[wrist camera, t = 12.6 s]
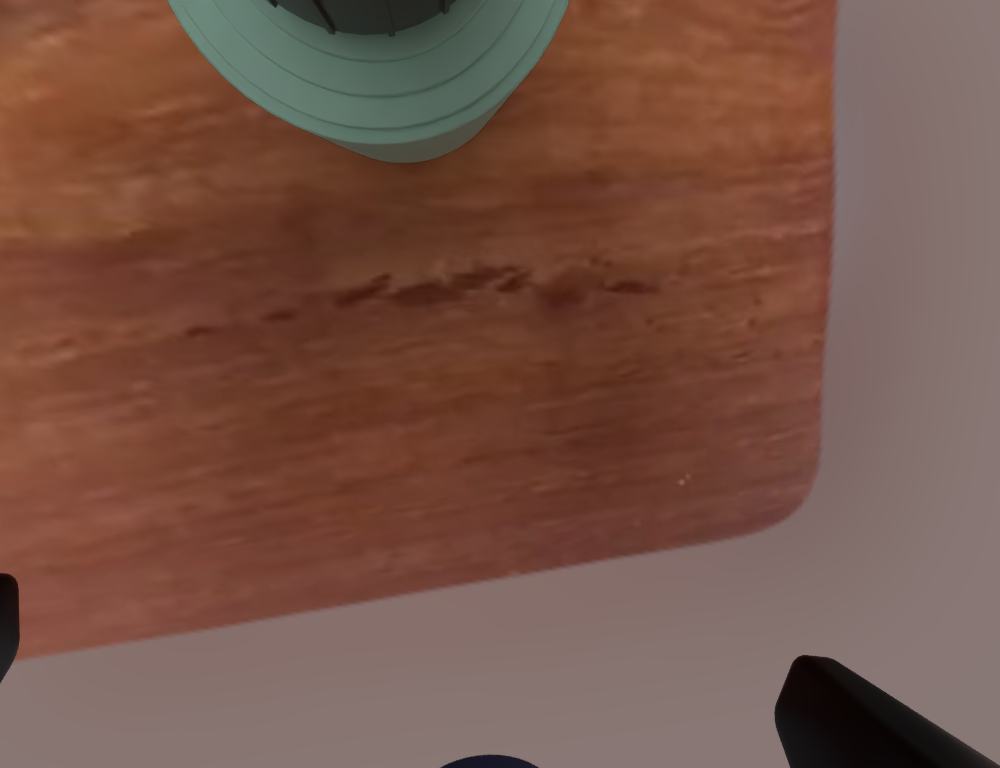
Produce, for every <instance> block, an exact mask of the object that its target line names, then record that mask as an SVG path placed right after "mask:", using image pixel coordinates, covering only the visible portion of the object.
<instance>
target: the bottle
mask: <svg viewBox="0 0 1000 768" xmlns="http://www.w3.org/2000/svg"><path fill="white" fill-rule="evenodd" d="M167 1H168V3H169V5H170V7H171V8H172V10H173V12H174V14H175V15H176V17H177V19H178V21H179V22H180V24H181V26H182V27H183V29H184V30H185V31H186V33H187V34H188V36H189V37H190V38H191V40H192V41H193V43H194V44H195V45H196V47H197V48H198V49H199V51H200V52H201V53H202V54H203V56H204V57H205V58H206V59H207V60H208V61H209V62H210V63H211V64H212V65H213V67H214V68H215V69H216V70H217V71H218V72H219V73H220V74H221V75H222V76H223V77H224V78H225V79H226V80H227V81H228V82H229V83H231V84H232V85H233V86H234V87H235V88H236V89H238V90H239V91H240V92H241V93H242V94H243V95H244V96H246V97H247V98H248V99H250V100H251V101H253V102H254V103H256V104H257V105H259V106H260V107H262V108H263V109H265V110H266V111H267V112H269V113H270V114H272V115H274V116H276V117H278V118H280V119H282V120H284V121H286V122H288V123H290V124H292V125H293V126H295V127H298V128H300V129H302V130H305V131H307V132H309V133H311V134H314V135H316V136H318V137H321V138H323V139H325V140H328V141H330V142H332V143H335V144H337V145H339V146H342V147H344V148H346V149H348V150H351V151H353V152H355V153H358V154H361V155H363V156H366V157H369V158H371V159H376V160H380V161H385V162H393V163H415V162H421V161H427V160H431V159H434V158H437V157H440V156H443V155H446V154H448V153H450V152H452V151H454V150H456V149H458V148H459V147H461V146H462V145H463V144H465V143H466V142H468V141H469V140H471V139H472V138H473V137H474V136H475V135H476V134H477V133H478V132H479V131H480V130H482V128H483V127H484V126H485V125H486V124H487V122H488V121H489V120H490V119H491V118H492V116H493V115H494V114H495V113H496V112H497V110H498V109H499V108H500V107H501V106H502V104H503V103H504V102H505V101H506V100H507V99H508V97H509V96H510V95H511V94H512V93H513V91H514V90H515V89H516V88H517V87H518V85H519V84H520V83H521V82H522V81H523V79H524V78H525V77H526V76H527V75H528V73H529V72H530V71H531V70H532V69H533V67H534V66H535V65H536V64H537V62H538V61H539V59H540V58H541V56H542V55H543V53H544V51H545V50H546V48H547V47H548V45H549V44H550V42H551V41H552V39H553V37H554V35H555V33H556V30H557V28H558V26H559V24H560V22H561V20H562V18H563V16H564V14H565V11H566V8H567V5H568V2H569V0H456V1H455V2H454V3H453V4H452V5H450V8H449V12H448V13H446V14H445V15H444V14H443V12H441V13H439V14H438V15H436V16H435V17H433V18H431V19H429V20H427V21H425V22H423V23H421V24H419V25H416V26H413V27H410V28H408V29H405V30H402V31H397V32H395V36H392V37H389V35H388V33H386V34H374V35H359V34H350V33H342V32H338V31H335V35H333V34H329V33H328V32H327V30H326V29H325V28H323V27H320V26H318V25H315V24H313V23H310V22H308V21H305V20H303V19H301V18H300V17H298V16H296V15H294V14H292V13H291V12H289V11H287V10H285V9H284V8H283V7H281V6H280V5H279V4H278V5H277V7H276V8H275V7H273V6H272V5H271V4H270V3H269V2H268V1H267V0H167Z"/></svg>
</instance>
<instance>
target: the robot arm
mask: <svg viewBox="0 0 1000 768" xmlns="http://www.w3.org/2000/svg"><path fill="white" fill-rule="evenodd" d="M19 638H20V632H19V589H18V583H17V581H16V579H15V578H14V577H13V576H11V575H10V574H5V573H0V683H1V681H2V680H3V678H4V676H5V675H6V673H7V671H8V670H9V668H10V666H11V664H12V663H13V661H14V658H15V656H16V653H17V650H18V646H19ZM775 723H776V728H777V731H778V734H779V737H780V740H781V742H782V745H783V748H784V751H785V754H786V757H787V759H788V762H789V765H790V768H1000V766H999V765H998V764H996V763H995V762H993V761H992V760H990V759H989V758H987V757H985V756H984V755H982V754H981V753H979V752H978V751H976V750H975V749H973V748H971V747H970V746H968V745H967V744H965V743H964V742H962V741H960V740H959V739H957V738H956V737H954V736H953V735H951V734H949V733H948V732H946V731H945V730H943V729H942V728H940V727H939V726H937V725H936V724H934V723H932V722H931V721H929V720H928V719H926V718H925V717H923V716H922V715H920V714H918V713H917V712H915V711H914V710H912V709H910V708H909V707H907V706H906V705H904V704H903V703H901V702H900V701H898V700H897V699H895V698H893V697H892V696H890V695H889V694H887V693H886V692H884V691H882V690H881V689H879V688H878V687H876V686H875V685H873V684H871V683H870V682H868V681H867V680H865V679H864V678H862V677H861V676H859V675H858V674H856V673H854V672H853V671H851V670H850V669H848V668H847V667H845V666H843V665H842V664H840V663H839V662H837V661H835V660H834V659H831V658H828V657H819V656H809V655H802V656H799V657H797V658H796V659H795V660H794V661H793V663H792V665H791V668H790V670H789V673H788V675H787V678H786V680H785V683H784V685H783V688H782V690H781V693H780V695H779V698H778V700H777V703H776V706H775Z"/></svg>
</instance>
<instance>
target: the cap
mask: <svg viewBox="0 0 1000 768" xmlns="http://www.w3.org/2000/svg"><path fill="white" fill-rule="evenodd" d="M267 1H268V2H269V3H270V4H271V5H272V6H273V7H275V8H276V7H277V5H278V4H279V5H280V6H281V7H283V8H284V9H285V10H287V11H289V12H291V13H292V14H294V15H296V16H298V17H300V18H301V19H303V20H305V21H308V22H310V23H313V24H315V25H318V26H320V27H323V28H325V29H326V30H327V32H328V33H329V34H333V35H335V31H338V32H342V33H350V34H359V35H374V34H386V33H388V35H389V37H392V36H395V32H397V31H402V30H405V29H408V28H410V27H413V26H416V25H419V24H421V23H423V22H425V21H427V20H429V19H431V18H433V17H435V16H436V15H438V14H439V13H441V12H443V14H444V15H445V14H446V13H448V12H449V8H450V5H452V4H453V3H454V2H455V1H456V0H267Z"/></svg>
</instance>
